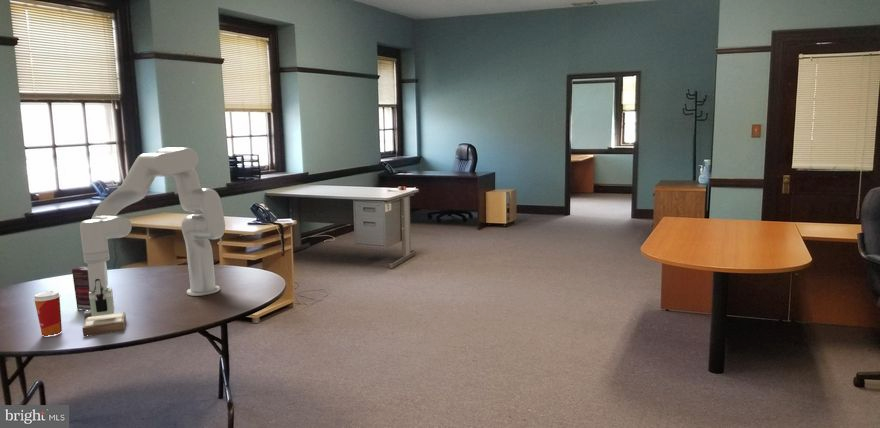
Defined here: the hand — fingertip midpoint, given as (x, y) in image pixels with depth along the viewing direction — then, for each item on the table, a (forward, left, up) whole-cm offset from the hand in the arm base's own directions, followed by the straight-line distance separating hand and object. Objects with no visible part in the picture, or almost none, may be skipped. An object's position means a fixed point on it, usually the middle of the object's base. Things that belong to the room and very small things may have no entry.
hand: (102, 308), depth 214 cm
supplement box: (-28, -7, -7) cm, 30 cm away
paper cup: (-2, -16, -7) cm, 18 cm away
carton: (0, 0, -2) cm, 2 cm away
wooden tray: (0, 0, -7) cm, 7 cm away
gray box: (-11, -3, -7) cm, 14 cm away
